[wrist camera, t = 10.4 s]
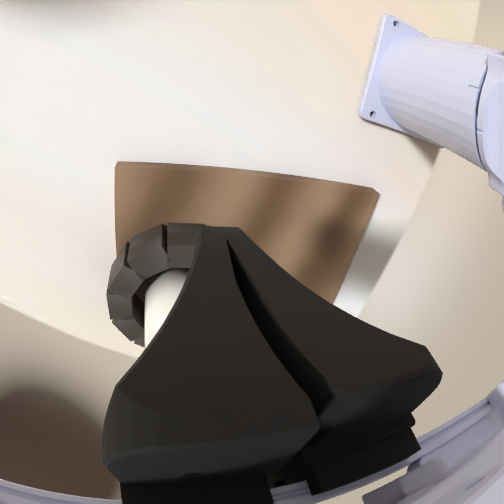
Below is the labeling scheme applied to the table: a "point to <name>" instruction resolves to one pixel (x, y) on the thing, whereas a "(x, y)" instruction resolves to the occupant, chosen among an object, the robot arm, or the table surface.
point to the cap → (161, 298)
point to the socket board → (229, 215)
